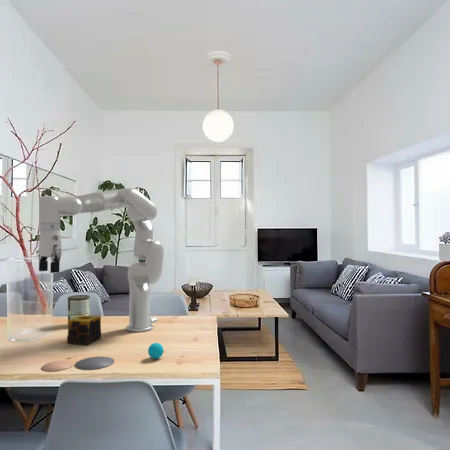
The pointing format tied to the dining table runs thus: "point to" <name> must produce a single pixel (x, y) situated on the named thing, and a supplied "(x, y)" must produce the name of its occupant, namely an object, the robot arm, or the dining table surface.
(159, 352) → the ball
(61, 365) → the disc
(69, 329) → the candle
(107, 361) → the disc
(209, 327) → the dining table surface
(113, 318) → the dining table surface
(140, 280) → the robot arm
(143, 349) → the dining table surface
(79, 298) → the coffee can
